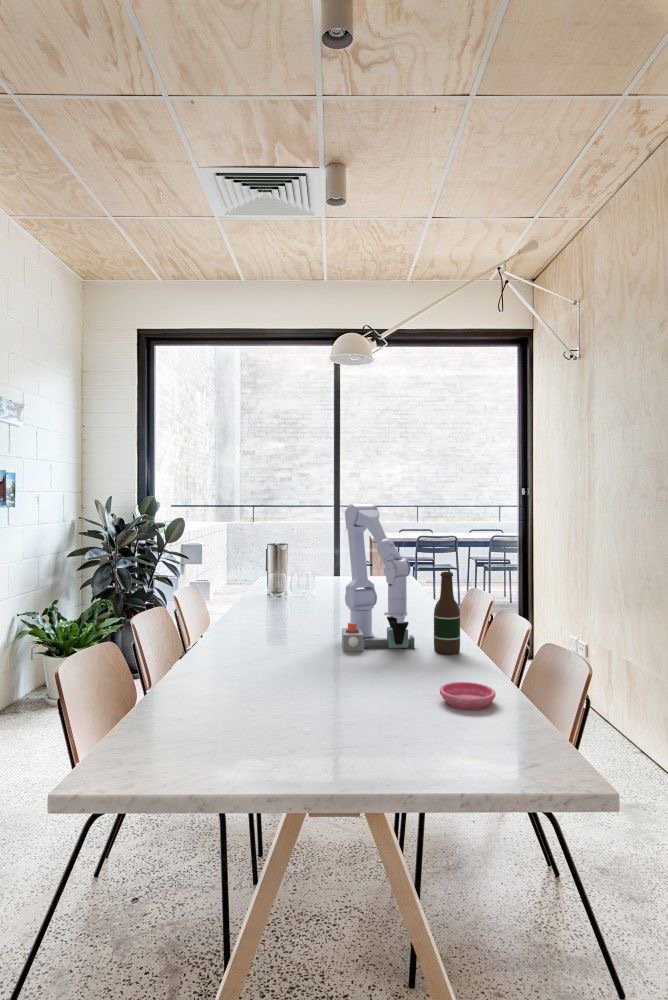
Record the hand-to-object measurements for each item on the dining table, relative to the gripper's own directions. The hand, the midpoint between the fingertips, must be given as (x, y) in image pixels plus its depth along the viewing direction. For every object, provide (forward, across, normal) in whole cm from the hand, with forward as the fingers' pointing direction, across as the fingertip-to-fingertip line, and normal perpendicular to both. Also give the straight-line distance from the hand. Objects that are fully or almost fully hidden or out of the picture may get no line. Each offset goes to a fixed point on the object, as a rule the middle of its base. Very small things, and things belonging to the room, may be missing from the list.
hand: (397, 641), depth 198 cm
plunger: (-2, 0, -14) cm, 14 cm away
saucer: (+2, +53, +9) cm, 54 cm away
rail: (+2, 0, -2) cm, 3 cm away
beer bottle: (+2, +7, +14) cm, 16 cm away
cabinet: (+2, 0, -14) cm, 14 cm away
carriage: (+2, 0, 0) cm, 2 cm away
